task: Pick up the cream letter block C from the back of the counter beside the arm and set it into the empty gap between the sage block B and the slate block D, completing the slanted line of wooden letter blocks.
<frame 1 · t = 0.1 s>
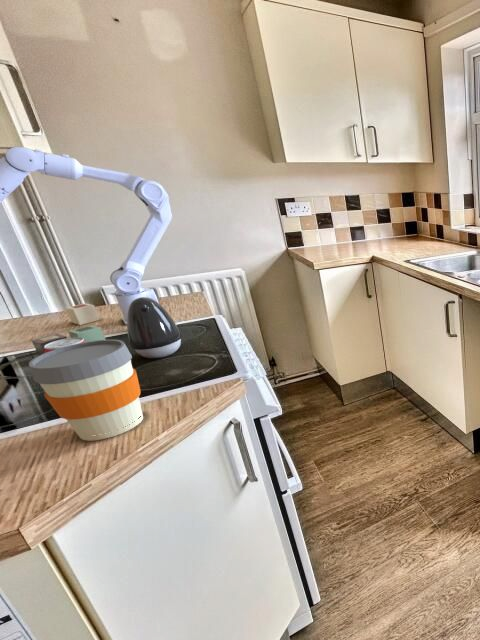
block D: (150, 329, 126), on the worktop
soda can: (88, 395, 90), on the worktop
block A: (57, 356, 108), on the worktop
block B: (91, 346, 114), on the worktop
block C: (86, 321, 133), on the worktop
black egg shaped device: (162, 355, 109), on the worktop
reusable coffee cup: (112, 427, 78), on the worktop
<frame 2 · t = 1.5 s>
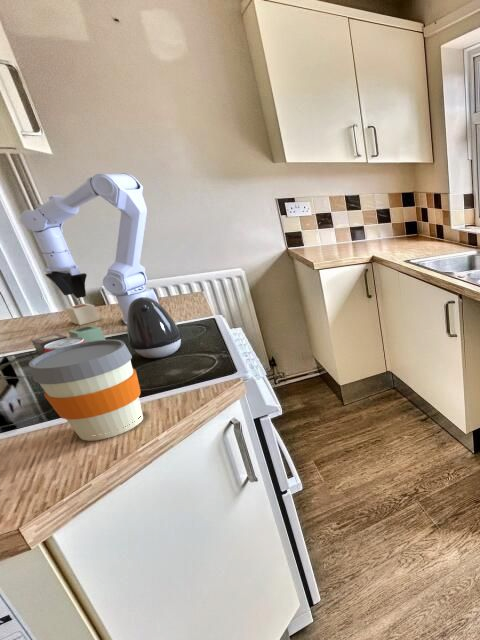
hand: (75, 295, 130), 8 cm above the worktop, tool pointing down, fingers open, 7 cm apart
nothing on the worktop moved.
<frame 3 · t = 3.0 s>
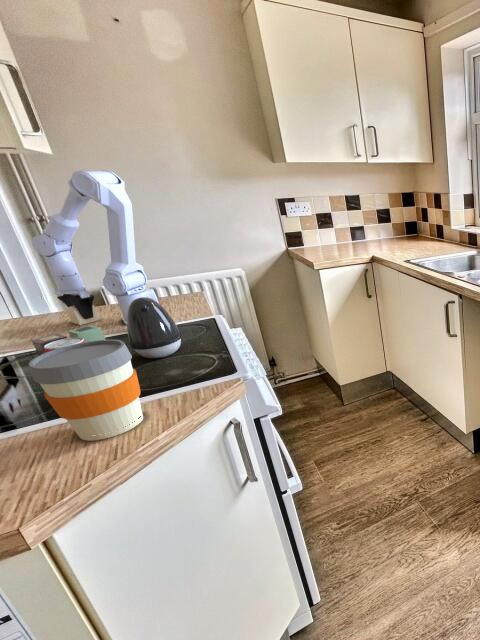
hand: (84, 317, 133), 1 cm above the worktop, tool pointing down, fingers closed on block C, 5 cm apart
block C: (86, 321, 133), on the worktop, touching gripper
everything else where it was.
when the fingers open (1 cm above the worktop, at t = 9.1 s): block C stays where it is, on the worktop.
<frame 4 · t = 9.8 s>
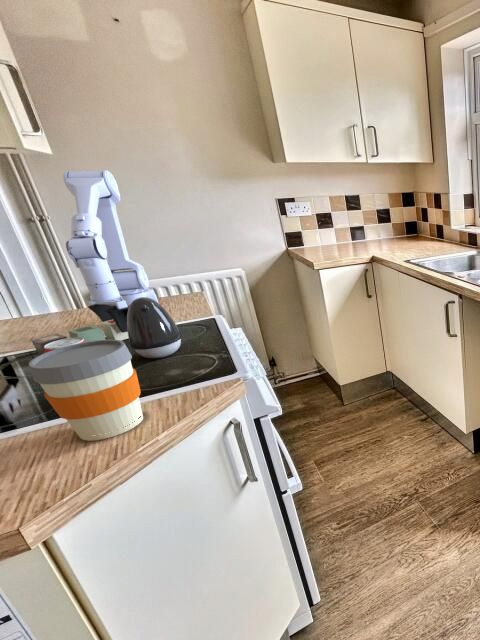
hand: (119, 329, 119), 2 cm above the worktop, tool pointing down, fingers open, 7 cm apart
block C: (122, 337, 120), on the worktop
everything else where it was.
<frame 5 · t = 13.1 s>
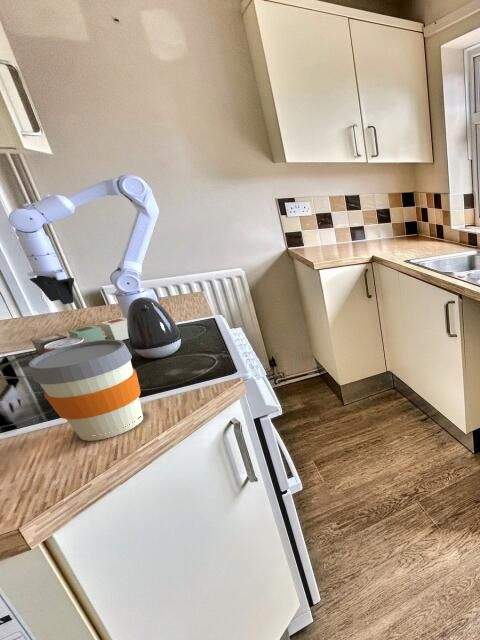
hand: (62, 301, 121), 9 cm above the worktop, tool pointing down, fingers open, 7 cm apart
nothing on the worktop moved.
at the end: block C 0.1 cm from the target spot on the worktop beside the block B, on the worktop; block C tilted 0°; block A moved 0.0 cm from its start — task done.
